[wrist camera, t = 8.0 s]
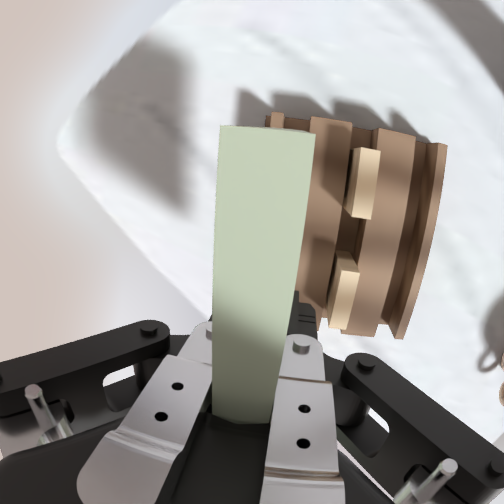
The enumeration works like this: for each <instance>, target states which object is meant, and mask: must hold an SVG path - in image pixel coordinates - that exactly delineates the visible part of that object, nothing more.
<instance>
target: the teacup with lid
mask: <svg viewBox="0 0 504 504" xmlns="http://www.w3.org/2000/svg"><path fill="white" fill-rule="evenodd" d="M501 365H502V369H503V371H504V353H503V356H502V361H501ZM499 400H500V403H501V404H502V405H503V406H504V382H503V383H502V385H501V387H500V391H499Z"/></svg>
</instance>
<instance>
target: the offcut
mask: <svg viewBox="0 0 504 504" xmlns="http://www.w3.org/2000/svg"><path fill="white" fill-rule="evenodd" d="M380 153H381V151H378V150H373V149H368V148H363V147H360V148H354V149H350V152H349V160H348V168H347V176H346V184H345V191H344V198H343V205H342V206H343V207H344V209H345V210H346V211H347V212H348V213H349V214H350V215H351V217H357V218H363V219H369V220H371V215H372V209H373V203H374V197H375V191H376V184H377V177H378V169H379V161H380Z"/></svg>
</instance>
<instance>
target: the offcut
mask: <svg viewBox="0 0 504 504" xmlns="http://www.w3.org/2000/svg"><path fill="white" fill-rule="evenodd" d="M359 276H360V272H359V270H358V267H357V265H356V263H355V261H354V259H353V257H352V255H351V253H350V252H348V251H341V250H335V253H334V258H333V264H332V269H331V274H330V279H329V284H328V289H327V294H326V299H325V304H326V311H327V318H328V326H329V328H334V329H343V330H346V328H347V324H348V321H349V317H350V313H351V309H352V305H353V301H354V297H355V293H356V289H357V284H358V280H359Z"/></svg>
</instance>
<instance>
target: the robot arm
mask: <svg viewBox="0 0 504 504" xmlns="http://www.w3.org/2000/svg"><path fill="white" fill-rule="evenodd" d="M131 365H133V366H134V372H135V375H133V376H131V377H128V378H126V379H123V380H121V381H118V382H116V383H113V384H110V385H108V386H105V387H103V380H104V378H105V377H106V376H107V375H108V374H110V373H112V372H115V371H118V370H120V369H123V368H126V367H128V366H131ZM370 408H372V409H373V410H374V411H375V412H376V413H377V414H378V415H380V416H381V417H382V418H383V419H384V420H385V421H386V422H387V424H388V426H389V433H388V432H387V431H386V430H385V429H384V428H383V427H382V426H381V425H379V424H378V423H377V422H376V421H375V420H374V419H373V418H372V417H371V416H370V415H369V414H368V412H369V410H370ZM337 440H338V441H339V442H340V443H341V445H342V446H343V447H344V448H345V449H346V450H347V451H348V452H349V453H350V454H351V455H352V456H353V457H354V458H355V459H356V460H357V462H358V463H359V464H360V465H361V466H362V467H363V468H364V469H365V470H366V471H367V472H368V473H369V474H370V475H371V476H372V477H373V478H374V479H375V480H376V481H377V482H378V483H379V484H380V485H381V486H382V487H383V488H384V489H385V490H386V491H387V492H388V493H389V494H390V495H391V496H392V497H393V498H394V499H393V501H392V500H391V499H390V498H389V497H388V496H387V495H385V494H384V493H383V492H382V491H381V490H380V489H379V488H378V487H377V486H376V485H375V484H374V483H373V482H372V481H371V480H370V479H369V478H368V477H367V476H366V475H365V474H364V473H363V472H362V471H361V470H360V469H359V468H358V467H357V466H356V465H355V464H354V463H353V462H352V461H350V459H349V458H348V457H347V456H346V455H344V454H343V453H342V452H340V451H339V450H338V449H337ZM0 449H1V452H2V455H3V459H2V460H1V461H0V504H489V503H490V502H491V501H492V500H493V499H494V498H495V497H496V496H497V495H498V494H500V493H501V492H502V491H503V490H504V453H503V452H502V451H500V450H499V449H497V448H496V447H495V446H494V445H492V444H491V443H490V442H488V441H487V440H486V439H484V438H483V437H482V436H480V435H479V434H478V433H476V432H475V431H474V430H472V429H471V428H470V427H468V426H467V425H466V424H464V423H463V422H462V421H460V420H459V419H458V418H456V417H455V416H454V415H452V414H451V413H450V412H449V411H447V410H446V409H445V408H443V407H442V406H441V405H439V404H438V403H437V402H435V401H434V400H433V399H431V398H430V397H429V396H427V395H426V394H425V393H424V392H422V391H421V390H420V389H418V388H417V387H416V386H414V385H413V384H412V383H410V382H409V381H408V380H407V379H405V378H404V377H403V376H401V375H400V374H399V373H397V372H396V371H395V370H393V369H392V368H391V367H390V366H388V365H387V364H386V363H384V362H383V361H382V360H380V359H379V358H377V357H376V356H373V355H371V354H367V353H354V354H351V355H349V356H348V357H347V358H346V359H345V362H344V361H341V360H337V359H334V358H332V357H330V356H328V355H326V354H325V353H323V348H322V345H321V343H320V342H319V341H318V339H317V324H316V311H315V309H314V308H313V307H312V305H311V304H309V303H301V302H299V291H297V290H294V296H293V302H292V307H291V313H290V319H289V324H288V330H287V335H286V341H285V346H284V351H283V357H282V362H281V367H280V372H279V377H278V382H277V387H276V392H275V396H274V401H273V406H272V410H271V415H270V420H269V423H266V424H235V423H232V422H230V421H227V420H225V419H223V418H220V417H218V416H215V415H213V414H212V315H211V317H210V319H209V321H208V322H203V323H201V324H199V325H197V326H196V327H195V328H194V330H193V331H192V333H191V334H190V335H170V329H169V327H168V326H167V325H166V324H164V323H163V322H160V321H156V320H143V321H139V322H136V323H133V324H129V325H126V326H123V327H120V328H116V329H113V330H110V331H107V332H104V333H100V334H97V335H94V336H90V337H87V338H84V339H81V340H77V341H74V342H70V343H67V344H64V345H60V346H57V347H53V348H50V349H47V350H43V351H39V352H36V353H32V354H29V355H26V356H22V357H18V358H15V359H11V360H7V361H3V362H0Z"/></svg>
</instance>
